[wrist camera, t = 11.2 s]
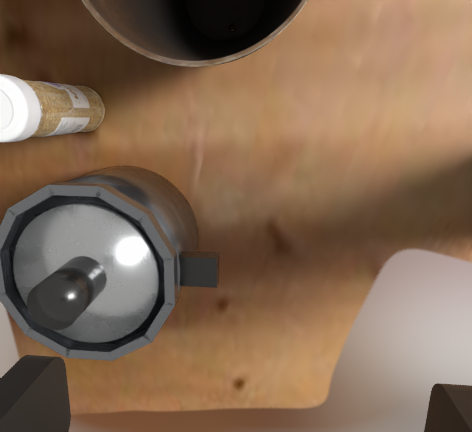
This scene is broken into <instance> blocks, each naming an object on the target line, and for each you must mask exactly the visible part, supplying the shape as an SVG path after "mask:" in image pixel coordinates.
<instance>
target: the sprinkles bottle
mask: <svg viewBox="0 0 472 432" xmlns="http://www.w3.org/2000/svg"><path fill="white" fill-rule="evenodd" d="M104 114H105V107H104V104H103V102H102V99H101V97H100V96H99V95H98V93H96V92H95V91H94V90H92V89H91V88H89V87H87V86H82V85H79V86H71V85H67V84H59V83H51V82H42V81H29V80H21V79H19V78H17V77H14V76H10V75H3V74H0V142H15V141H21V140H24V139H26V138H28V137H45V136H53V135H61V134H70V133H76V132H89V131H93V130H95V129H96V128H98V127H99V126H100V124H101V123H102V121H103V118H104Z"/></svg>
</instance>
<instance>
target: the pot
mask: <svg viewBox="0 0 472 432" xmlns="http://www.w3.org/2000/svg"><path fill="white" fill-rule="evenodd" d="M73 202H91V203H97V204H101V205H104V206H108V207H110V208H112V209H115V210H117V211H119V212H120V213H122V214H124V215H126V216H127V217H128V218H130V219H131V220H132V221H134V222H135V223H136V224H137V225H138V226H139V227H140V228H141V229H142V231H143V232H144V233H145V234H146V235H147V237H148V238H149V240H150V242H151V243H152V245H153V247H154V249H155V251H156V254H157V257H158V260H159V264H160V269H161V286H160V291H159V296H158V298H157V301H156V303H155V305H154V307H153V309H152V310H151V312H150V314H149V315H148V317H147V318H146V320H145V321H144V322H143V323H142V324H141V325H140V326H139V327H138V328H137V329H136V330H134V331H133V332H131V333H130V334H128V335H126V336H124V337H122V338H119V339H116V340H113V341H108V342H98V343H94V342H83V341H78V340H74V339H71V338H68V337H65V336H63V335H61V334H59V333H57V332H55V331H53V330H51V329H47V328H45V327H43V326H41V325H39V324H38V323H37V322H36V321H35V320H34V319H33V318H32V317H31V315H30V313H29V311H28V308H27V305H26V304H25V302H24V300H23V299H22V297H21V295H20V292H19V290H18V288H17V284H16V281H15V276H14V269H13V260H14V252H15V248H16V245H17V242H18V240H19V238H20V236H21V234H22V232H23V231H24V229H25V228H26V227H27V226H28V225H29V223H30V222H31V221H33V220H34V219H35V218H36V217H37V216H39V215H41V214H42V213H44V212H46V211H48V210H50V209H52V208H55V207H57V206H60V205H63V204H67V203H73ZM198 239H199V237H198V227H197V223H196V219H195V216H194V213H193V211H192V209H191V207H190V205H189V203H188V202H187V200H186V199H185V197H184V196H183V195H182V193H181V192H180V191H179V190H178V189H177V188H176V187H175V186H174V185H173V184H172V183H170V182H169V181H168V180H166V179H165V178H163V177H162V176H160V175H158V174H156V173H154V172H152V171H149V170H146V169H143V168H139V167H134V166H114V167H108V168H105V169H102V170H99V171H96V172H93V173H90V174H87V175H85V176H82V177H79V178H76V179H73V180H70V181H67V182H55V183H52V184H49V185H47V186H45V187H44V188H42V189H40V190H39V191H37V192H35V193H34V194H32V195H30V196H28V197H27V198H25V199H23V200H22V201H20V202H18V203H17V204H15V205H13V206H12V207H10V208H8V210H7V212H6V214H5V216H4V219H3V221H2V223H1V225H0V301H1V302H2V304H3V305H4V306H5V308H6V309H7V311H8V312H9V313H10V315H11V316H12V317H13V319H14V320H15V321H16V323H17V324H18V326H19V327H20V328H21V330H22V331H23V332H24V334H25V335H27V336H29V337H31V338H32V339H34V340H36V341H38V342H40V343H41V344H43V345H45V346H47V347H48V348H50V349H52V350H54V351H56V352H57V353H59V354H61V355H63V356H65V357H66V358H80V359H95V360H110V361H113V360H115V359H117V358H119V357H121V356H124V355H126V354H128V353H130V352H132V351H134V350H136V349H139V348H141V347H143V346H145V345H147V344H149V343H151V342H152V341H153V340H154V338H155V336H156V335H157V333H158V332H159V330H160V328H161V327H162V325H163V324H164V322H165V321H166V319H167V317H168V316H169V314H170V313H171V311H172V309H173V308H174V306H175V304H176V302H177V300H178V294H179V292H180V290H181V288H182V286H196V287H216V288H217V285H218V282H219V253H211V252H197V250H198Z"/></svg>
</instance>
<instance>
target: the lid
mask: <svg viewBox="0 0 472 432" xmlns="http://www.w3.org/2000/svg"><path fill="white" fill-rule="evenodd" d="M13 269H14V276H15V281H16V284H17V288H18V290H19V292H20V295H21V297H22V299H23V300H24V302H25V304H26V305H27V308H28V311H29V313H30V315H31V317H32V318H33V319H34V320H35V321H36V322H37V323H38V324H39V325H41V326H43V327H45V328H47V329H51V330H53V331H55V332H57V333H59V334H61V335H63V336H65V337H68V338H71V339H74V340H78V341H83V342H94V343H98V342H108V341H113V340H116V339H119V338H122V337H124V336H126V335H128V334H130V333H131V332H133V331H134V330H136V329H137V328H138V327H139V326H140V325H141V324H142V323H143V322H144V321H145V320H146V318H147V317H148V315H149V314H150V312H151V310H152V309H153V307H154V305H155V303H156V301H157V298H158V296H159V291H160V286H161V269H160V264H159V260H158V257H157V254H156V251H155V249H154V247H153V245H152V243H151V242H150V240H149V238H148V237H147V235H146V234H145V233H144V232H143V231H142V229H141V228H140V227H139V226H138V225H137V224H136V223H135V222H134V221H132V220H131V219H130V218H128V217H127V216H126V215H124V214H122V213H120V212H119V211H117V210H115V209H112V208H110V207H108V206H104V205H101V204H97V203H91V202H73V203H67V204H63V205H60V206H57V207H55V208H52V209H50V210H48V211H46V212H44V213H42V214H41V215H39V216H37V217H36V218H35V219H34V220H33V221H31V222H30V223H29V225H28V226H27V227H26V228H25V229H24V231H23V232H22V234H21V236H20V238H19V240H18V242H17V245H16V248H15V252H14V260H13Z"/></svg>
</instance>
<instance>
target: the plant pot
mask: <svg viewBox="0 0 472 432" xmlns="http://www.w3.org/2000/svg"><path fill="white" fill-rule="evenodd" d="M307 1H308V0H82V2H83V4H84V5H85V7H86V8H87V9H88V11H89V12H90V13H91V14H92V16H93V17H94V18H95V19H96V20H97V21H98V23H99V24H100V25H101V26H102V27H103V28H104V29H105V30H106V31H107V32H108V33H110V34H111V35H112V36H113V37H114V38H116V39H117V40H118V41H120V42H121V43H122V44H124V45H125V46H127V47H129V48H130V49H132V50H134V51H135V52H137V53H139V54H141V55H144V56H146V57H148V58H150V59H153V60H156V61H159V62H163V63H167V64H171V65H178V66H188V67H202V66H211V65H218V64H224V63H228V62H231V61H235V60H237V59H240V58H243V57H245V56H247V55H249V54H251V53H253V52H255V51H257V50H258V49H260V48H261V47H263V46H264V45H266V44H267V43H268V42H270V41H271V40H272V39H273V38H275V37H276V36H277V35H278V34H279V33H281V32H282V31H283V30H284V29H285V28H286V27H287V26H288V25H289V24H290V23H291V22H292V21H293V19H294V18H295V17H296V16H297V15H298V13H299V12H300V11H301V10H302V8H303V7H304V5H305V4H306V2H307ZM230 25H234V26H235V30H234V31H233V32H232V31H230V30H229V26H230Z"/></svg>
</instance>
